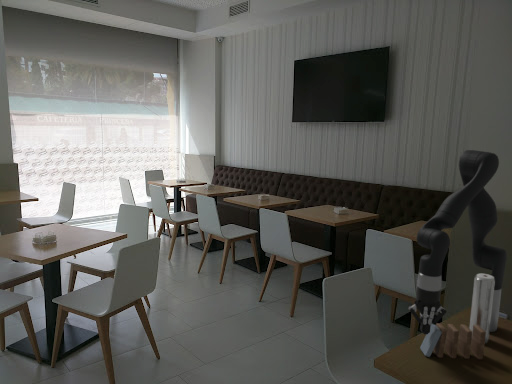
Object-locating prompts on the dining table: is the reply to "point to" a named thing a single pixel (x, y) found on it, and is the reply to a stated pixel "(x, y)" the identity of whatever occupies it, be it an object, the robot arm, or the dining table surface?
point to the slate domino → (430, 340)
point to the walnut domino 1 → (440, 342)
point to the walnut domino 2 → (451, 340)
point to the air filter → (482, 302)
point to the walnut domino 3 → (465, 341)
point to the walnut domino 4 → (478, 341)
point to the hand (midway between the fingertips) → (424, 333)
